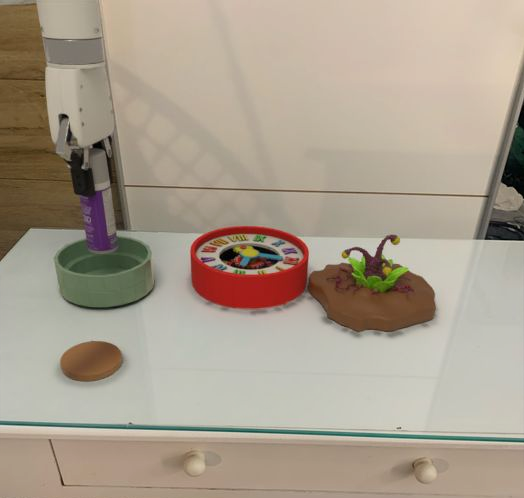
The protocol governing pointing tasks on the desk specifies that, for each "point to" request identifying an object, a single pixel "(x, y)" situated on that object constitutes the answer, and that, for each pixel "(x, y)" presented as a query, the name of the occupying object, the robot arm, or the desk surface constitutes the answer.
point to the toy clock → (249, 267)
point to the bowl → (105, 273)
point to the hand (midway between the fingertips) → (94, 187)
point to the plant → (373, 292)
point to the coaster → (91, 361)
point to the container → (99, 207)
